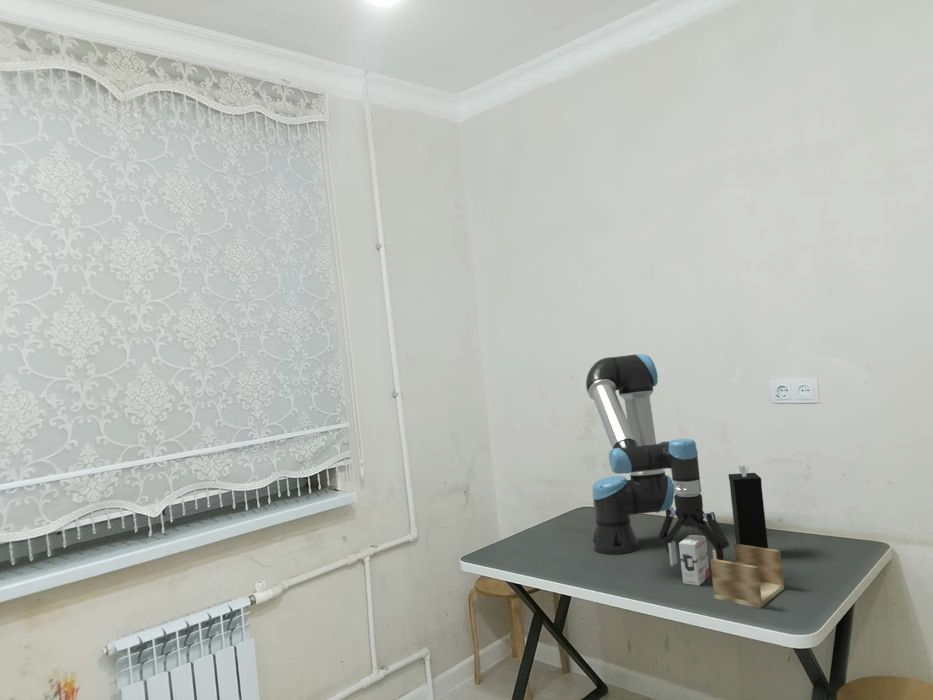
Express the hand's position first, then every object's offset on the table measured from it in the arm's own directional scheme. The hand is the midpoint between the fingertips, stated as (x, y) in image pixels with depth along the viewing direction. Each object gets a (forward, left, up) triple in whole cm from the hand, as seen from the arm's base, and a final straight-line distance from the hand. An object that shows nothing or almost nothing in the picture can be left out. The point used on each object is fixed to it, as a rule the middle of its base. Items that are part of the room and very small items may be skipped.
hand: (695, 568), depth 184 cm
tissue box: (+5, +26, -4) cm, 27 cm away
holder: (+16, -2, -3) cm, 16 cm away
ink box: (0, 0, -4) cm, 4 cm away
